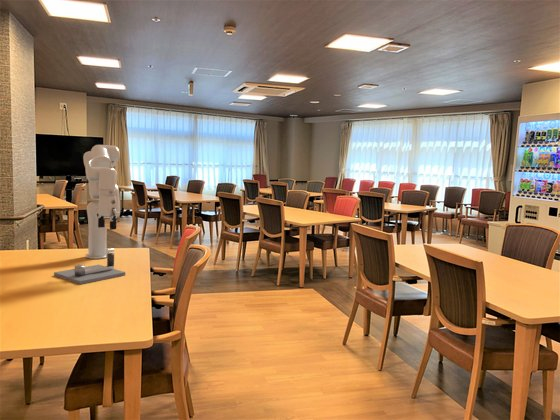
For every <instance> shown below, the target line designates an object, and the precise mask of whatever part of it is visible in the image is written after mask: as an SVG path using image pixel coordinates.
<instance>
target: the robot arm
mask: <svg viewBox="0 0 560 420" xmlns="http://www.w3.org/2000/svg"><path fill="white" fill-rule="evenodd" d="M120 157H121V152H120V149H119V148H118V147H117V146H116V145H109V144H95V145H94V146H92V148H91V149H90V150H89V151H86V152H85V153H83V157H82V158H83V165H84V168H85V177H86V179H87V181H88V194H89V197H90V198H91V199H92V200H95V201H91V202H89V203H88V204H87V206H86V214H87V220H88V221H87V222H88V223H87V224H88V226H87V227H88V245H87V246H88V253H86V254H85V258H86V259H90V260H91V259H92V260H99V259H100V260H101V259H107V254H108V253H114V252H115V248H108V246H107V245H108V244H107V241H108V240H107V237H108V236H107V235H108V233H107V232H108V230H107V227H108V226H107V224H106V223H105V222H106V221H105V220H106V219H109V220H110V221H109V230H111V231H112V230H117V222H118V218H119V217H120V215H121V201H120V187H119V185H118V184H117V183H116V180H118V171H117V170H116V169H115V168H114V167H116V166H117V164H118V162H119V161H120ZM97 200H98V201H97Z"/></svg>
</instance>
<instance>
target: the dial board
mask: <svg viewBox="0 0 560 420" xmlns="http://www.w3.org/2000/svg"><path fill="white" fill-rule="evenodd" d="M102 266H103V264H95V265H89V266H85V270H86V269H91V268H97V267H102ZM74 271H75V268H72V269H66V270H65V269H64V270H61V271H54V272H53V275H54V277H58V278H61V279H63V280H66V281H69V282H72V283H74V284H77V285H85V284H91V283H95V282H101V281H104V280H108V279H115V278H119V277H123V276H124V277H125V276H126V271H122V270H119V269H116V268H114V269H110V270H105V271H99V272H94V273H89V274H85V275H81V276H76V275H74Z"/></svg>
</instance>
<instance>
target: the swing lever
mask: <svg viewBox="0 0 560 420" xmlns="http://www.w3.org/2000/svg"><path fill="white" fill-rule="evenodd" d="M85 267H86V265H84V264H77V265H74V269H75V271H74V275H76V276H81V275H85V274H89V273H94V272H99V271H105V270H110V269H115V253H114V252H109V253H108V254H107V258H106V265H102V267H97V268H91V269H86V270H85Z"/></svg>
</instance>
